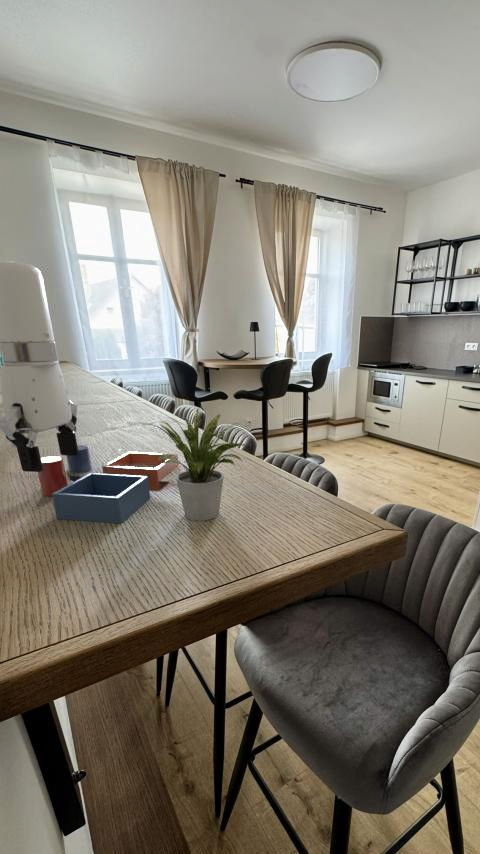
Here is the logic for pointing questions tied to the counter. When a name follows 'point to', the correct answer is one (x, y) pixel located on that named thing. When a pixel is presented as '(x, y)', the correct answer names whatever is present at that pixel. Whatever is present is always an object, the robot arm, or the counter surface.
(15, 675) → the counter surface
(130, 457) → the terracotta bin
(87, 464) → the tall blue post
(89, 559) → the counter surface
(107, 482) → the blue bin
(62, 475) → the red cylinder
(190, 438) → the house plant
